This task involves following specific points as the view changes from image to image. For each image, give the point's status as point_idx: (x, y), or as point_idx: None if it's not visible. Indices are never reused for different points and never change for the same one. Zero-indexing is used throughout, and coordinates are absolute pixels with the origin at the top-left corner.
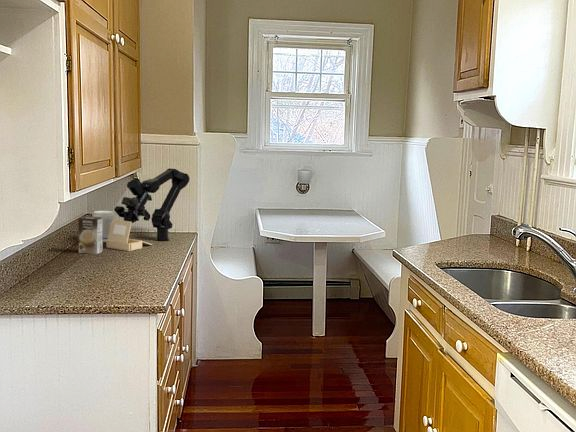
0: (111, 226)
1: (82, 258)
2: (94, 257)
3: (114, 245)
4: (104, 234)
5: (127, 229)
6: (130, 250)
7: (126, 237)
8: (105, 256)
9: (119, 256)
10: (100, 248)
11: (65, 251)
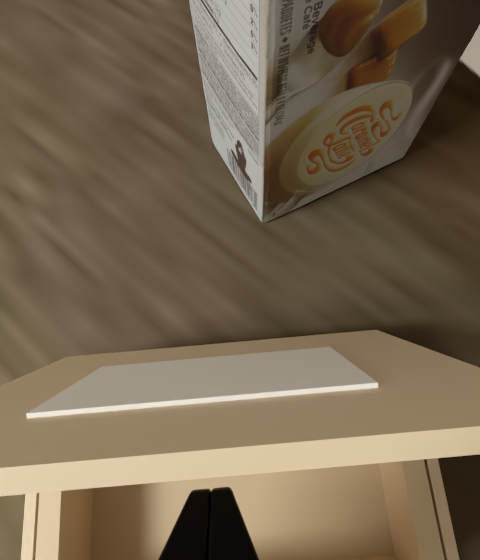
0: (441, 366)
1: (177, 12)
2: (138, 70)
3: None
4: None
5: (7, 399)
6: None
7: (59, 367)
8: (101, 131)
9: (14, 193)
10: (237, 169)
11: None
